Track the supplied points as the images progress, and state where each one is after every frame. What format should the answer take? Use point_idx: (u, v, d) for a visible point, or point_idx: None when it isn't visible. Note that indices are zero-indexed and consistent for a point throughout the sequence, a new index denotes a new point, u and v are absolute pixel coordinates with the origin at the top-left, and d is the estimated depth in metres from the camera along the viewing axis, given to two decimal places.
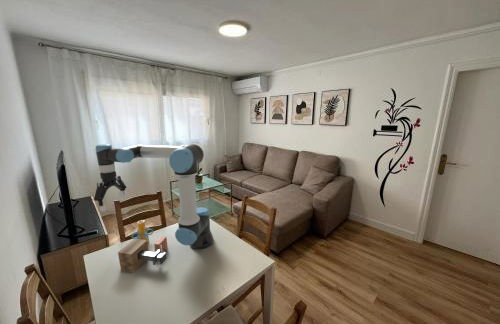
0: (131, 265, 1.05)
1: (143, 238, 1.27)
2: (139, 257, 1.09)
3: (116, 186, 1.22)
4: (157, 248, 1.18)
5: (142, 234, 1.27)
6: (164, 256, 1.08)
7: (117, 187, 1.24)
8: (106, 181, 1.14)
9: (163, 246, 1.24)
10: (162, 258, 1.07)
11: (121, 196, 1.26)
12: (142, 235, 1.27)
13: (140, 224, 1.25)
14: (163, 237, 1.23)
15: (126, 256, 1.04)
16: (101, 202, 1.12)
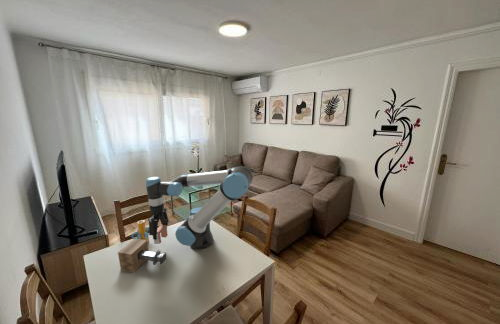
0: (131, 265, 1.05)
1: (143, 238, 1.27)
2: (139, 257, 1.09)
3: (161, 219, 1.20)
4: None
5: (142, 234, 1.27)
6: (164, 256, 1.08)
7: (161, 221, 1.21)
8: (155, 214, 1.13)
9: (163, 235, 1.22)
10: (162, 258, 1.07)
11: None
12: (142, 235, 1.27)
13: (140, 224, 1.25)
14: (162, 225, 1.21)
15: (126, 256, 1.04)
16: (155, 236, 1.14)
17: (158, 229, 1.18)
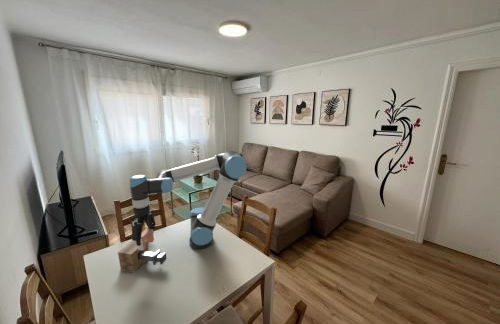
0: (131, 265, 1.05)
1: None
2: (139, 257, 1.09)
3: (147, 223, 1.08)
4: None
5: None
6: (164, 256, 1.08)
7: (147, 224, 1.09)
8: (140, 217, 1.00)
9: (148, 240, 1.10)
10: (162, 258, 1.07)
11: None
12: None
13: None
14: (148, 229, 1.09)
15: (126, 256, 1.04)
16: (139, 241, 1.01)
17: (143, 233, 1.05)
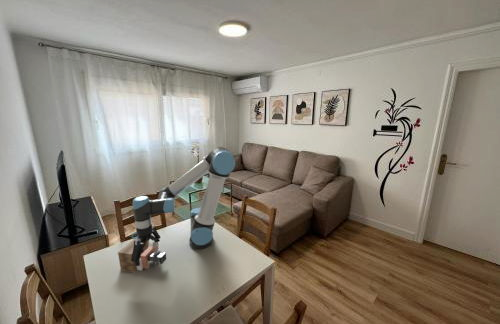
0: (131, 265, 1.05)
1: None
2: None
3: (151, 238, 1.12)
4: (143, 260, 1.06)
5: None
6: (164, 256, 1.08)
7: (152, 239, 1.13)
8: (143, 237, 1.03)
9: None
10: (162, 258, 1.07)
11: (155, 248, 1.16)
12: None
13: None
14: (150, 248, 1.11)
15: (126, 256, 1.04)
16: (138, 262, 1.01)
17: (145, 252, 1.08)
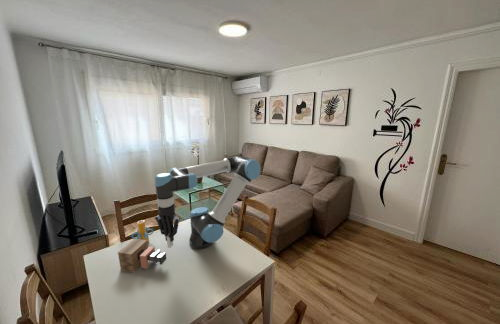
0: (131, 265, 1.05)
1: (143, 238, 1.27)
2: (139, 257, 1.09)
3: None
4: (143, 260, 1.06)
5: (142, 234, 1.27)
6: (164, 256, 1.08)
7: None
8: (159, 214, 1.00)
9: None
10: (162, 258, 1.07)
11: None
12: (142, 235, 1.27)
13: (140, 224, 1.25)
14: (150, 248, 1.11)
15: (126, 256, 1.04)
16: (166, 237, 1.03)
17: (145, 252, 1.08)
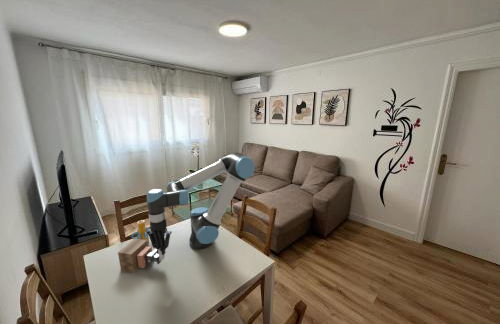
0: (131, 265, 1.05)
1: (143, 238, 1.27)
2: None
3: None
4: (140, 260, 1.06)
5: (142, 234, 1.27)
6: None
7: None
8: (151, 228, 1.03)
9: None
10: None
11: None
12: (142, 235, 1.27)
13: (140, 224, 1.25)
14: (148, 247, 1.12)
15: (126, 256, 1.04)
16: (158, 250, 1.06)
17: (142, 252, 1.08)
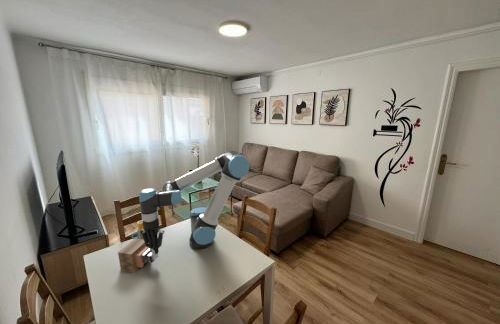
0: (131, 265, 1.05)
1: None
2: None
3: None
4: (138, 260, 1.06)
5: None
6: None
7: None
8: (144, 228, 1.04)
9: None
10: None
11: None
12: None
13: (140, 224, 1.25)
14: (146, 247, 1.12)
15: (126, 256, 1.04)
16: None
17: (140, 252, 1.08)
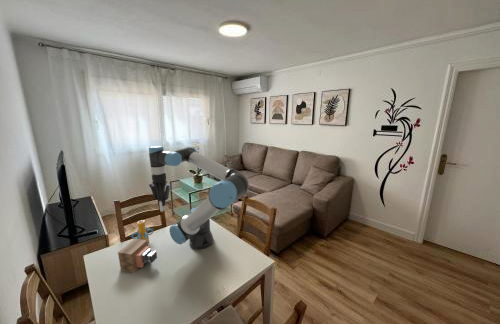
0: (131, 265, 1.05)
1: (143, 238, 1.27)
2: None
3: None
4: (138, 260, 1.06)
5: (142, 234, 1.27)
6: (154, 255, 1.09)
7: None
8: (153, 181, 1.17)
9: None
10: (152, 257, 1.08)
11: None
12: (142, 235, 1.27)
13: (140, 224, 1.25)
14: (146, 247, 1.12)
15: (126, 256, 1.04)
16: (159, 202, 1.20)
17: (140, 252, 1.08)
